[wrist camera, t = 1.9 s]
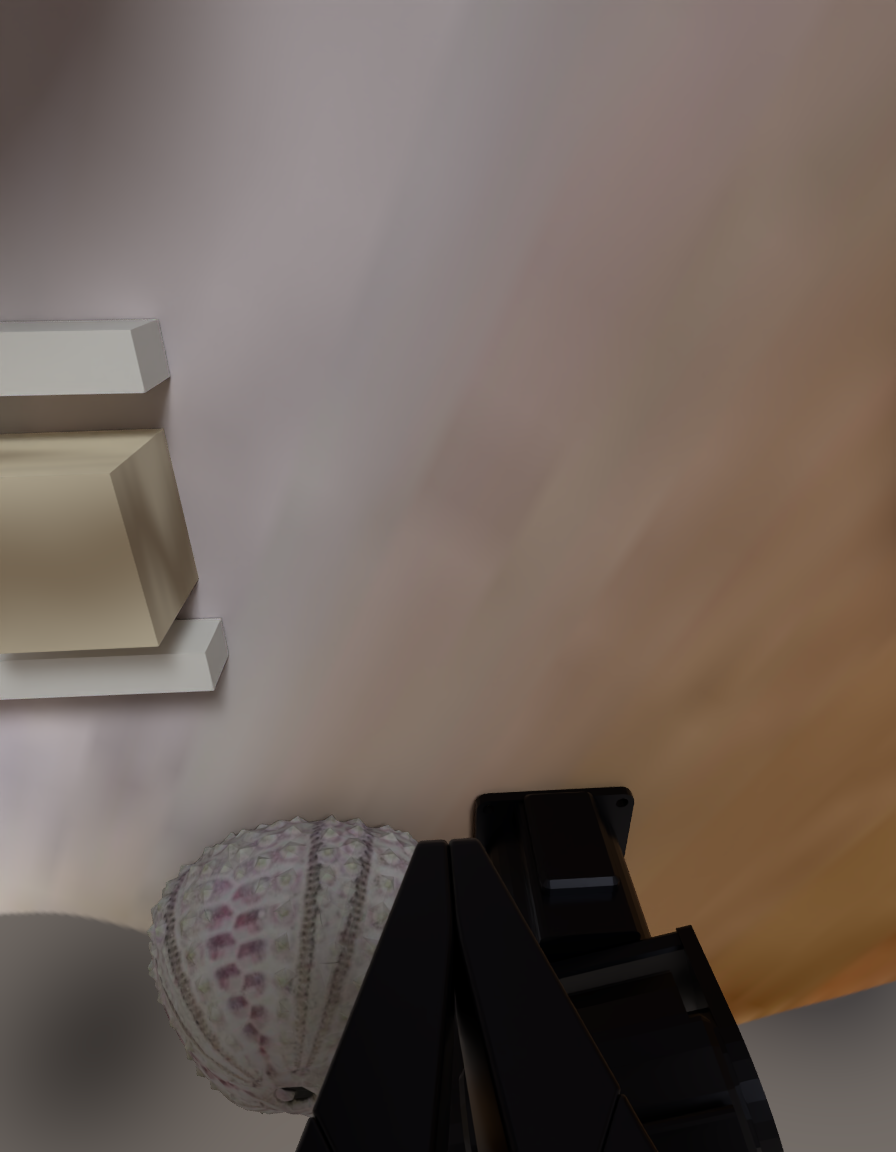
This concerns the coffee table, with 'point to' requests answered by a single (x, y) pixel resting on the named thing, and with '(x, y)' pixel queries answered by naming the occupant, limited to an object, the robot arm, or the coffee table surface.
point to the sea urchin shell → (274, 952)
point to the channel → (101, 366)
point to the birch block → (90, 541)
